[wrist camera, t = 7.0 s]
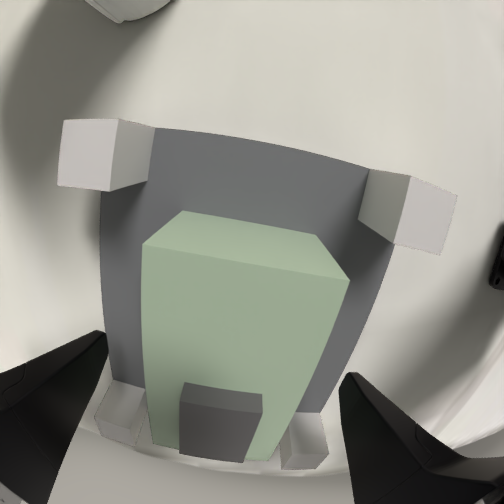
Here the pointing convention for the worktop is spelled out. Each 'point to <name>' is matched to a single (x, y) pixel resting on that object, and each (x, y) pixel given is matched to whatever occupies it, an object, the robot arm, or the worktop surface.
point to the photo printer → (126, 8)
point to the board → (232, 331)
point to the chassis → (245, 209)
